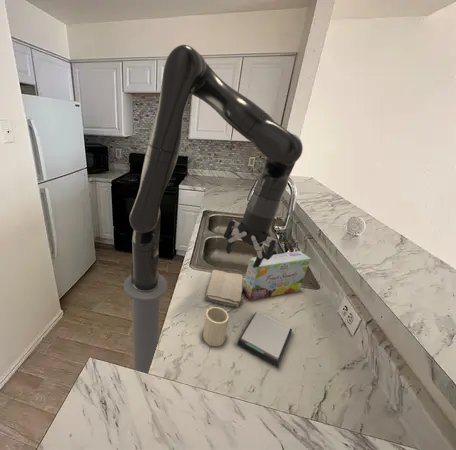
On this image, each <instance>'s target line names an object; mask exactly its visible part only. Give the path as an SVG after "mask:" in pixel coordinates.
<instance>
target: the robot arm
mask: <svg viewBox="0 0 456 450" xmlns="http://www.w3.org/2000/svg"><path fill="white" fill-rule="evenodd" d="M163 67H164V68H163V71H162V72H163V73H162V79H161V85H160V93H159V98H158V104H157V108H156V112H155V117H154V120H153V124H152V127H151V132H150V136H149V139H148V142H147V146H146V151H145V154H144V159H143V165H142V170H141V175H140V182H139V188H138V191H137V195H136V197H135V200H134V203H133V206H132V208H131V210H130V213H129V216H128V218H129V219H128V220H129V224H130V226H131V228H132V229H133V231H132V238H131V243H132V245H131V246H132V247H131V249H132V261H131V262H130V275H131V282H132V284H133V286H134V288H135V289H136V290H138V291H140V292H151V291H153V290H155V289H156V288H157V287H158V277H159V275H158V274H159V254H160V253H159V252H160V251H159V248H160V247H159V246H160V235H161V234H160V233H161V207H160V206H161V202H162V198H163V196H164V194H165V190H166V189H167V186H168V184H169V182H170V179H171V178H172V175H173V173H174V170H175V167H176V165H177V161H178V158H179V155H180V151H181V148H182V141H183V121H184V113H185V109H186V107H187V103H188V100H189V98H190V95H192V96H194V97H196V98H198V99H200V100H201V101H203V102H204V103H206V104H207V105H208V106H210V107H211V109H213V110H214V111H216V113H217V114H218V115H219V116H220V117H221V118H222V119H223V120H224V121H225V122H226V123H227V124H228V125H229V126H230V127H232V129H234V130H235V131H236V132H238V133H239V134H240V135H241V136H243V138H245V139H247V140H248V141H249V142H251V143H252V144H253V146H255V147H256V148H257V149H258V150H259V151H260V152H261V153H262V154H263V155H264V156H265V157H266V160H265V163H264V167H263V170H262V171H261V173H260V175H259V176H258V179H257V181H256V184H255V187H254V189H253V192H252V194H251V196H250V198H249V200H248V202H247V204H246V208H245V211H244V214H243V216H242V219H241V221H240V222H239V221H237V219H236V218H233V219H232V220H229V222H228V224H227V227H226V229H225V231H224V234H223V238H224V239H226V240H227V244H226V247H225V251H226V254H229V255H230V254H231V253H232V251H233V250H234V247H235V244H236V241H237V240H240V239H241V242H243V243H247V244H248V245H250V247H251V246H253V247H254V250H255V251H256V254H257V256H256V257H257V258H256V260H255V263H254V265H253V267H254V268H256V267H259V266H260V265H261V263H262V260H263V258H264V259H267V260H269V259H270V258H271V257H272V256H273V255H274V253H275V250H276V248H277V246H278V244H279V243H278V242H279V238H278V237H270V236H269V231H270V229H271V227H272V224H273V222H274V220H275V217H276V215H277V213H278V210H279V209H280V208H279V207H280V205H281V201H282V199H283V196H284V194H285V192H286V190H287V187H288V183H289V178H290V176H291V174H292V172H293V169H294V167H295V165H296V163H297V161H298V160H299V159H300V158H301V156H302V154H303V150H304V147H303V142H302V140H301V138H300V137H299V136H298V135H296V134H295V133H292V132H291V131H289V130H287V129H286V128H285V127H284V126H283V125H281V124H279V123H277V122H276V121H275V120H274V118H273V117H272V116H271V115H270V114H269V113H268V112H266V111H265V110H264V109H263V108H261V106H259V105H257V104H256V102H254V101H252V100H251V99H249V98H248V97H247V96H245V95H243V94H242V93H240V92H239V91H237V90H236V89H234V88H232V87H231V86H230V85H229V84H228V83H226V82H225V81H224V80H223V79H221V77H219V76H218V74H217V73H216V72H215V71H214V70H213V69H212V68H211V66H210V65H209V64H208V63H207V62H206V59H205V58H204V56H203V55H202V54H201V53H199V52H198V51H197V50H196V49H195V48H194V47H192V46H190V45H187V44H180V45H178V46H176V47H174V48H173V49H172V50H171V52H170V53H169V54H168V55H167V57H166V60H165V62H164V66H163ZM236 228H237V230H238V233H237V234H236V235H232V234H233V232H234V229H236ZM265 241H266V242H267V243H266V244H267V246H268V248H267V250H266V251H265V245H264V242H265Z"/></svg>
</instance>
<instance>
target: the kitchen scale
mask: <svg viewBox="0 0 456 450" xmlns="http://www.w3.org/2000/svg"><path fill="white" fill-rule="evenodd" d="M292 332H293V328H291V326H289V325H286V324H284V323H282V322H280V321H278V320H276V319H274V318H271V317H269V316H268V315H265V314H262V313H261V312H259V311H255V312H254V314H253V316H252V317H251V319H250V320H249V322H248V323H247V325H246V327H245V329H244V330H243V332H242V333H241V335H240V337H239V338H238V340H237V346H239V347H241V348H243V350H246V351H248V352H250V353H251V354H253V355H254V356H256V357H258V358H259V359H261V360H263V361H265V362H267V363H268V364H270V365H272V366H274V367H275V368H279V365H280V362H281V359H282V357H283V355H284V352H285V350H286V347H287V344H288V342H289V339H290V337H291V334H292Z"/></svg>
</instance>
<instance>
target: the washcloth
mask: <svg viewBox="0 0 456 450" xmlns="http://www.w3.org/2000/svg"><path fill="white" fill-rule="evenodd" d="M242 290H243V274H241V273H235V272H233V273H232V272H226V271H222V270H219V269H213V270H212V271H211V276H210V280H209V282H208V287H207V290H206V293H205V300H206V301H207V302H212V303H215V304H218V305H219V304H220V305H223V306H227V307H232V308H239V306H240V303H241V300H242V293H243V291H242Z"/></svg>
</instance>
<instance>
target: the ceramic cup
mask: <svg viewBox="0 0 456 450" xmlns="http://www.w3.org/2000/svg"><path fill="white" fill-rule="evenodd" d="M229 318H230V315H229V313H228V312H227V311H226V310H225V309H224V308H222V307H219V306H211V307H209V308H207V310H206V311H205V318H204V325H203V334H202V337H203V340H204V341H205V343H206V344H208V345H210V346H212V347H219V346H222V345H223V344H224V343H225V339H226V334H227V330H228V325H229V320H230V319H229Z"/></svg>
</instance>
